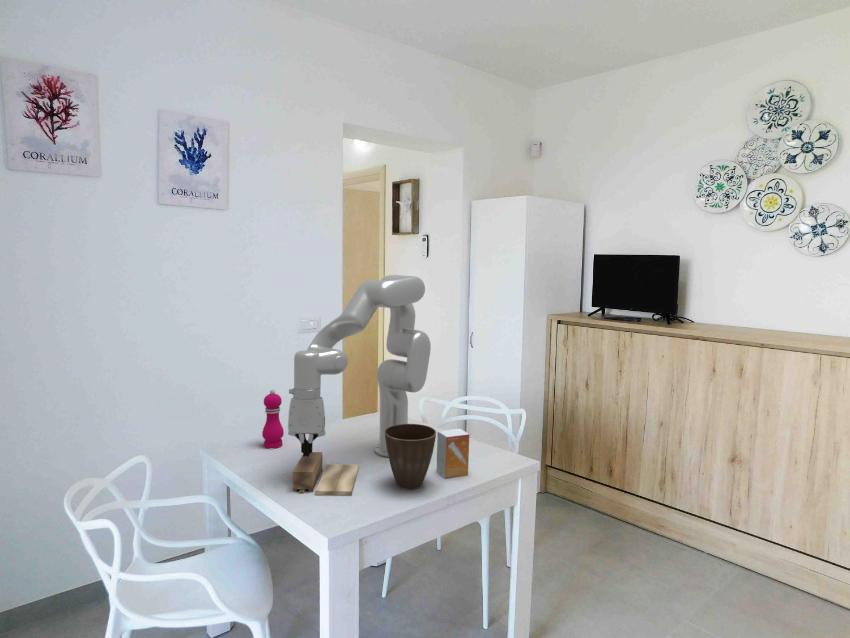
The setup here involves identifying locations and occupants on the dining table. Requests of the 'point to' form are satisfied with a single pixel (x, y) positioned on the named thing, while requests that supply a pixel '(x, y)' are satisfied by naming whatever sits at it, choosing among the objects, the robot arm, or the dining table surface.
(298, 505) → the dining table surface
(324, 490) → the board
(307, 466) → the brown wooden block
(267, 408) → the pepper mill
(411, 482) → the plant pot
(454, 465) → the small box
